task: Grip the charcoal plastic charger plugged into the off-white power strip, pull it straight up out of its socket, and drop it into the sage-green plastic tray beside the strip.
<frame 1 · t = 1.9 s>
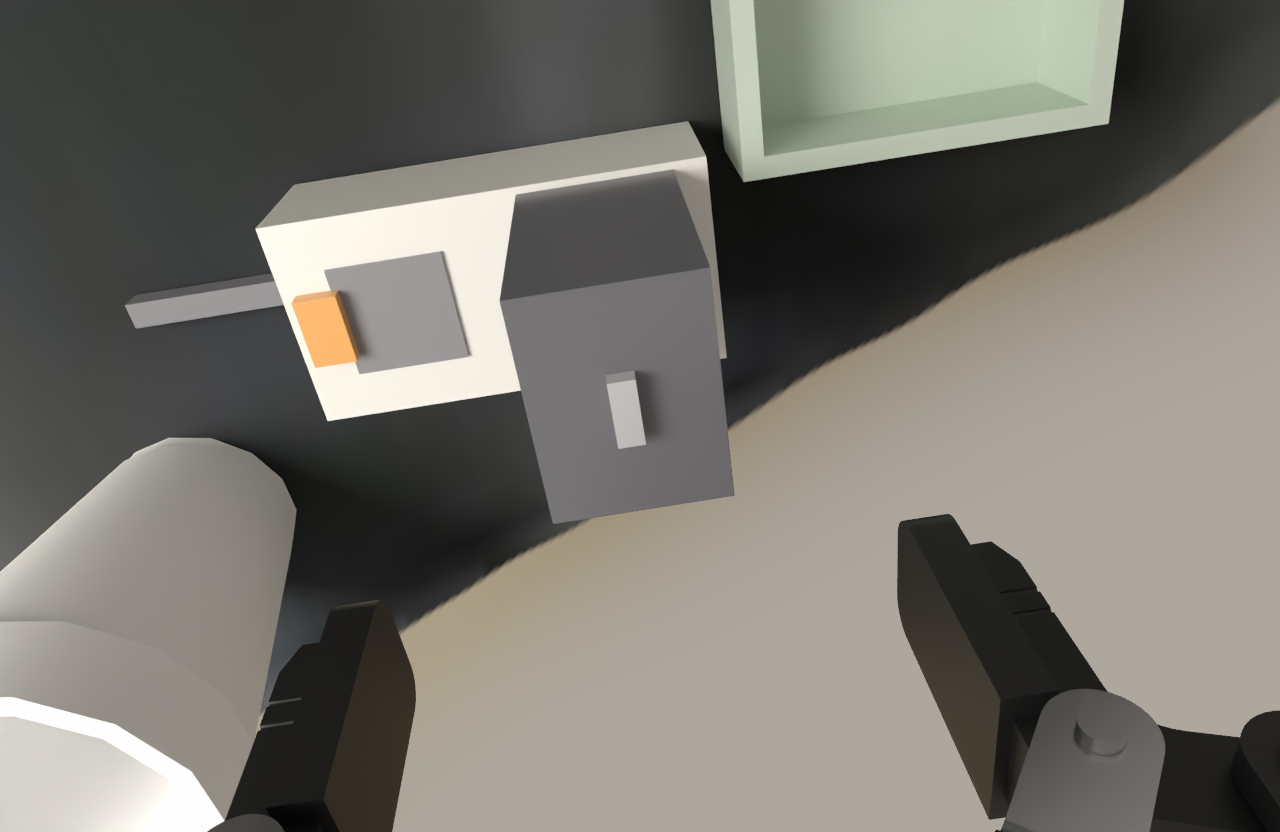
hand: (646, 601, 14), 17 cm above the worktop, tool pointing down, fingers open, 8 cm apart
foam cup: (208, 506, 33), on the worktop
power strip: (512, 247, 29), on the worktop
charger: (607, 254, 27), point 2 cm above the worktop, touching power strip
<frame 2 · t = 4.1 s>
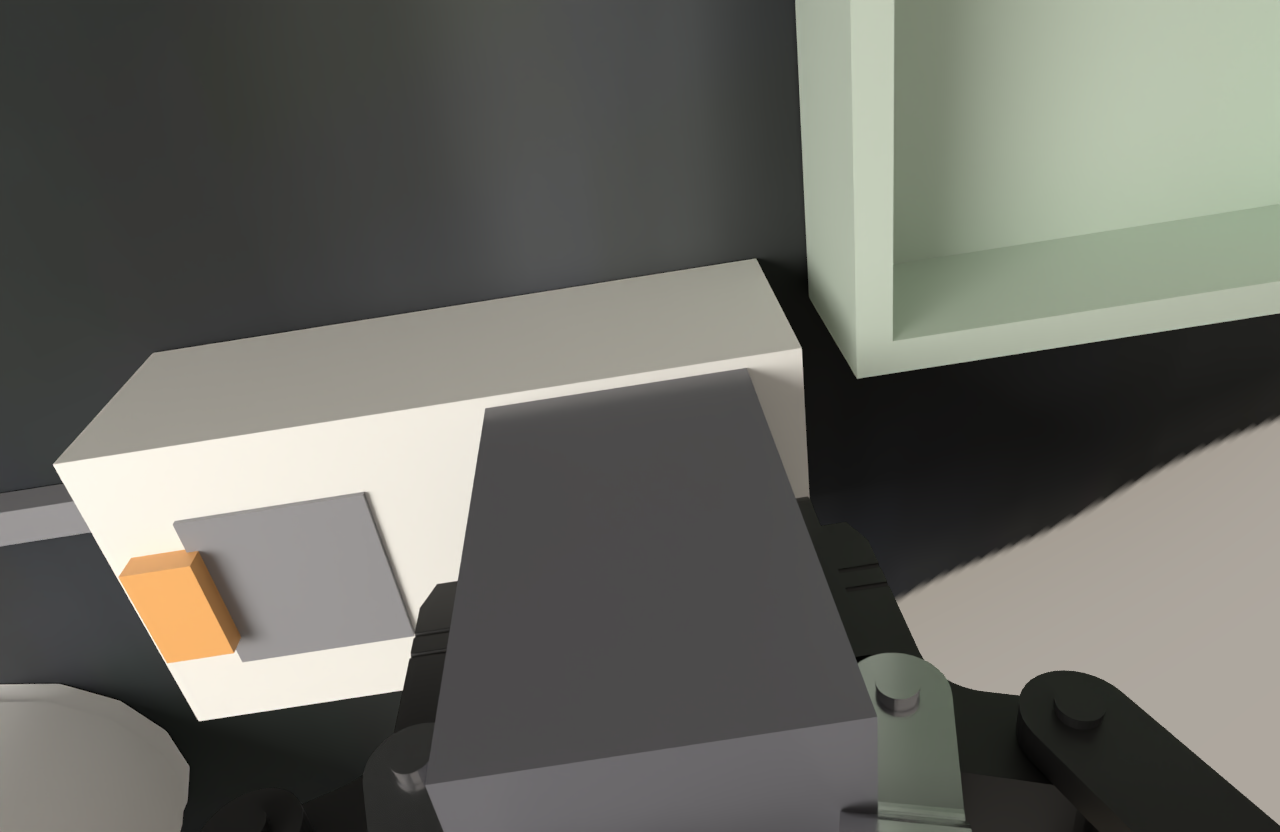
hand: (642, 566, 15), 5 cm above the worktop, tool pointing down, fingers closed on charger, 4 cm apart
foam cup: (66, 763, 24), on the worktop
power strip: (487, 434, 19), on the worktop
charger: (632, 464, 17), point 2 cm above the worktop, touching gripper, power strip
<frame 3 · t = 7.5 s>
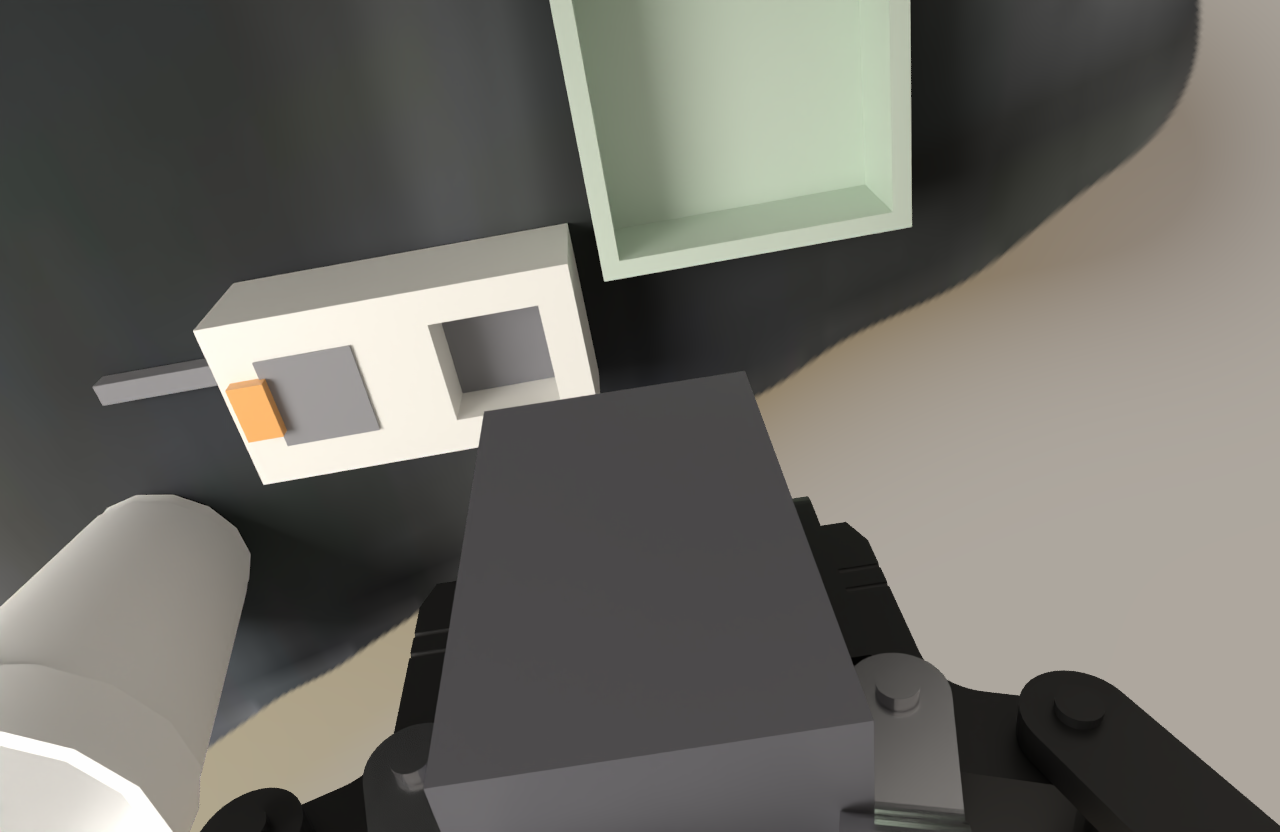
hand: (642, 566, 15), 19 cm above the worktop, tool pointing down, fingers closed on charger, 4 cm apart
foam cup: (174, 552, 38), on the worktop
tray: (723, 73, 29), on the worktop
power strip: (423, 329, 33), on the worktop
charger: (631, 466, 17), point 16 cm above the worktop, touching gripper
when the fingers open (5 cm above the worktop, at t = 10.9 s): charger drops 2 cm, resting on tray.
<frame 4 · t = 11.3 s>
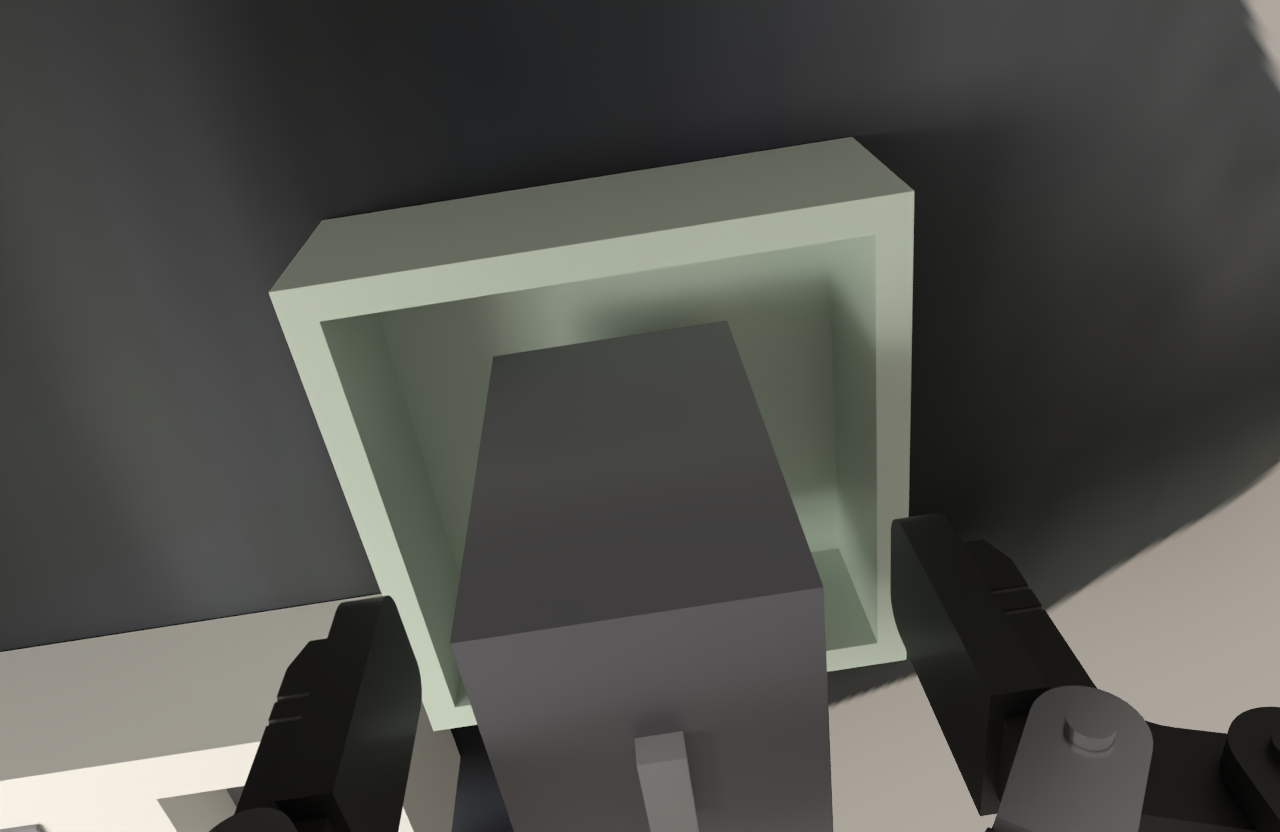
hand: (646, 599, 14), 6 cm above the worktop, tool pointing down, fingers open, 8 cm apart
tray: (625, 408, 19), on the worktop
power strip: (200, 714, 23), on the worktop
charger: (626, 414, 19), resting on tray
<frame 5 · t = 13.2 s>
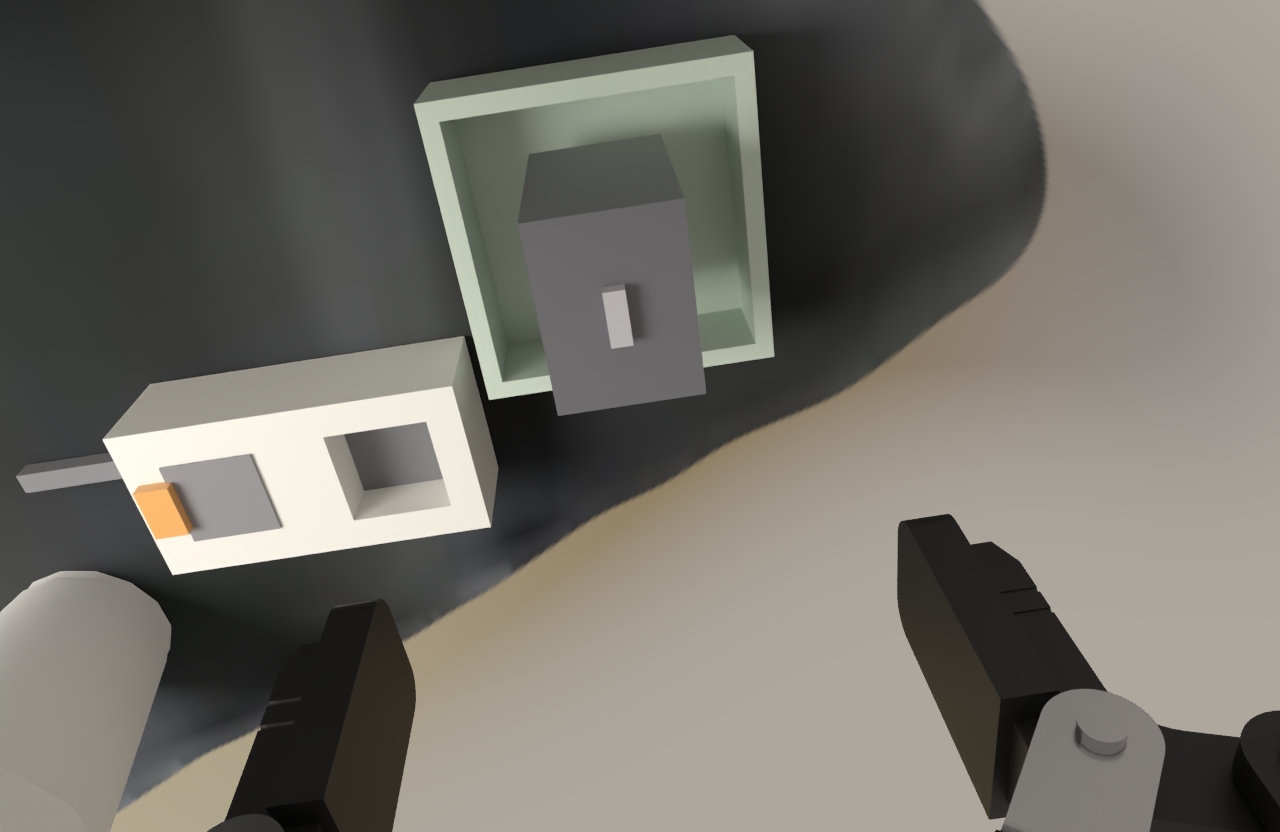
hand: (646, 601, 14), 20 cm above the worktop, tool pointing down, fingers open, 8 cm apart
foam cup: (98, 622, 40), on the worktop
tray: (605, 208, 32), on the worktop
power strip: (331, 427, 35), on the worktop
charger: (606, 210, 32), resting on tray
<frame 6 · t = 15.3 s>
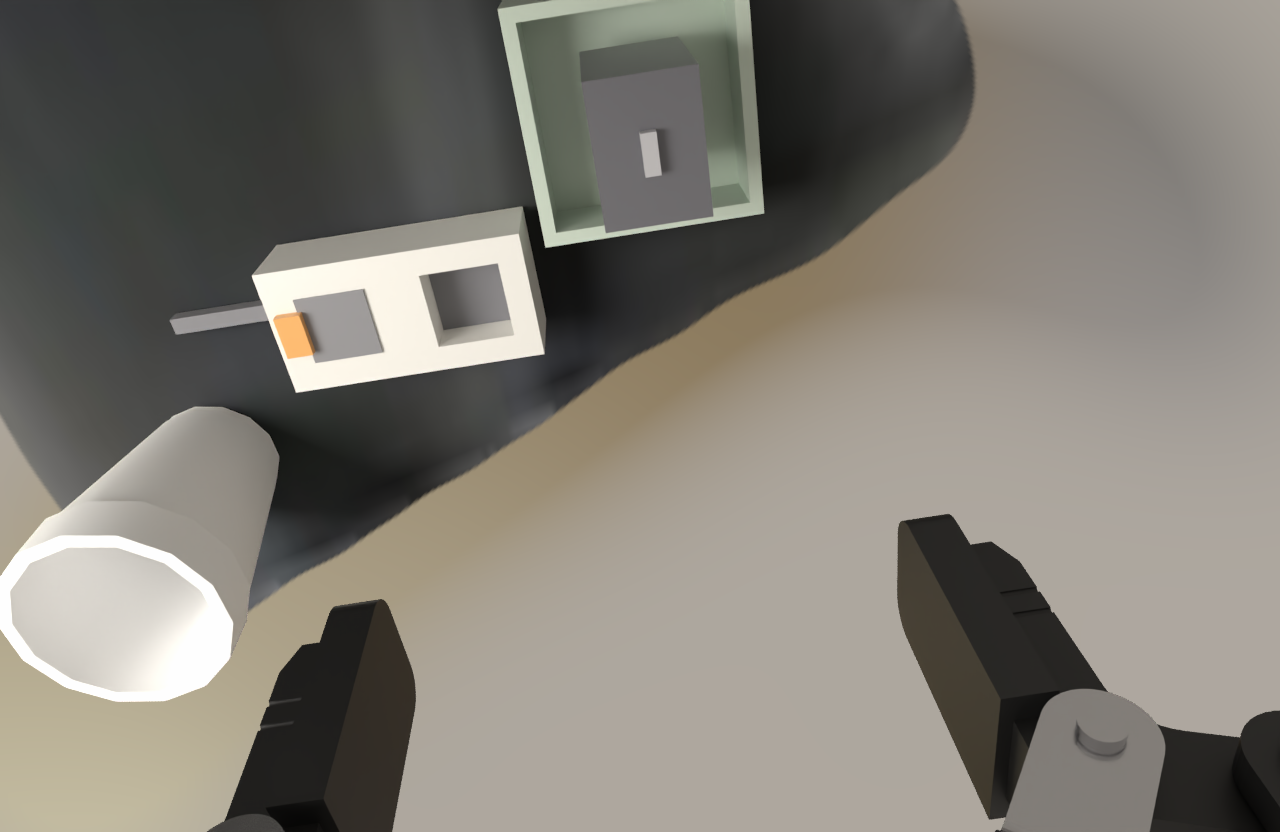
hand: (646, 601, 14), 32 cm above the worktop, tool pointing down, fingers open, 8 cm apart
foam cup: (220, 454, 49), on the worktop
tray: (634, 101, 41), on the worktop
power strip: (415, 283, 45), on the worktop
charger: (634, 102, 41), resting on tray
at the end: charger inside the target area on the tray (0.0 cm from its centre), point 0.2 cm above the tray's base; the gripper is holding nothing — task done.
